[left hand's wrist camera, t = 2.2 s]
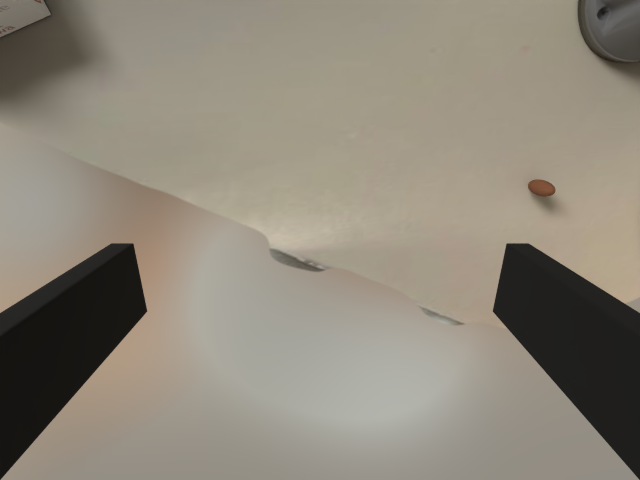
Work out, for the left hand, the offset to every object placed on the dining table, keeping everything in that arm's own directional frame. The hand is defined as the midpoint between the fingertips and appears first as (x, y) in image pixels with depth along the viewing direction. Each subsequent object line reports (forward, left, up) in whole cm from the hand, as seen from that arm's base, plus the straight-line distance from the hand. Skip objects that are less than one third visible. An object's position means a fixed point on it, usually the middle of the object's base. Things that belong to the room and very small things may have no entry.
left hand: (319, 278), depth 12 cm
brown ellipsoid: (-30, -6, -37) cm, 48 cm away
